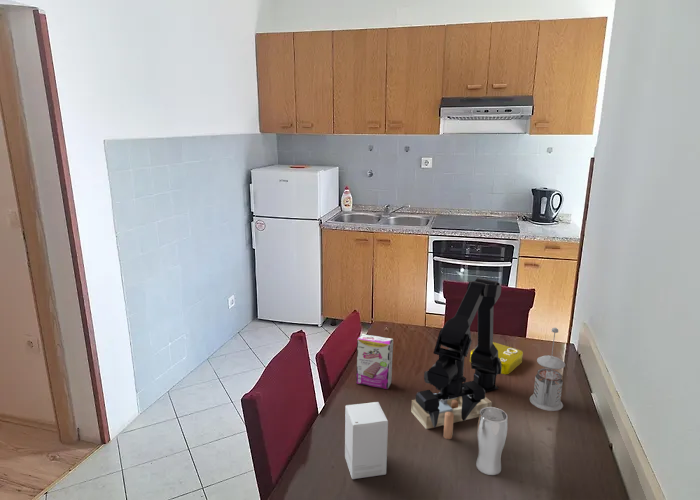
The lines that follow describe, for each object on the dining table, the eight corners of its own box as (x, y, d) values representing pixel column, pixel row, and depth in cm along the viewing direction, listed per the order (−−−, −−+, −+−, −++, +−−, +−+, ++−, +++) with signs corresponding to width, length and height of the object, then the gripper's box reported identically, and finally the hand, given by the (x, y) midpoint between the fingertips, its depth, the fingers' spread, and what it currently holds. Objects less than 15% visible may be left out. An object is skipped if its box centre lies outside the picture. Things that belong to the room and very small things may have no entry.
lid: (436, 394, 144) (436, 387, 143) (452, 410, 136) (452, 402, 135) (416, 399, 141) (416, 391, 141) (431, 415, 133) (431, 407, 133)
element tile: (485, 349, 185) (486, 338, 184) (523, 361, 175) (524, 349, 174) (467, 362, 174) (468, 350, 173) (506, 376, 164) (508, 364, 163)
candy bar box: (355, 384, 157) (356, 338, 153) (360, 377, 162) (361, 332, 158) (388, 390, 154) (389, 344, 150) (392, 383, 158) (393, 337, 154)
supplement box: (387, 475, 115) (389, 421, 112) (351, 480, 114) (352, 425, 110) (377, 451, 124) (379, 400, 120) (344, 455, 122) (344, 404, 119)
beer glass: (470, 458, 122) (474, 406, 118) (496, 457, 122) (501, 405, 119) (479, 477, 115) (484, 423, 111) (507, 476, 116) (513, 422, 112)
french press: (563, 398, 150) (573, 325, 144) (562, 417, 140) (573, 339, 134) (530, 390, 154) (538, 319, 148) (527, 409, 144) (536, 333, 138)
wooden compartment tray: (473, 398, 149) (473, 387, 148) (490, 414, 141) (491, 402, 140) (411, 411, 142) (411, 400, 141) (426, 429, 134) (426, 416, 133)
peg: (449, 433, 132) (450, 410, 130) (453, 438, 130) (455, 415, 128) (441, 434, 131) (443, 412, 130) (446, 440, 129) (447, 417, 127)
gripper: (464, 353, 136) (461, 401, 140) (407, 363, 130) (405, 413, 134) (488, 371, 126) (484, 422, 130) (427, 383, 120) (424, 436, 124)
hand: (448, 422), depth 130 cm, fingers open, 9 cm apart
